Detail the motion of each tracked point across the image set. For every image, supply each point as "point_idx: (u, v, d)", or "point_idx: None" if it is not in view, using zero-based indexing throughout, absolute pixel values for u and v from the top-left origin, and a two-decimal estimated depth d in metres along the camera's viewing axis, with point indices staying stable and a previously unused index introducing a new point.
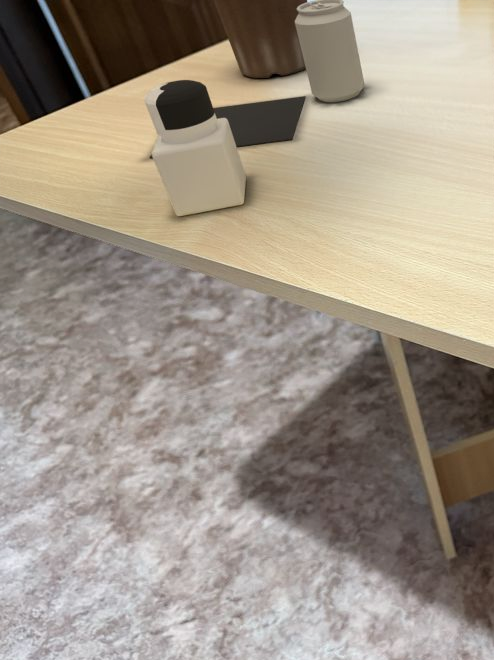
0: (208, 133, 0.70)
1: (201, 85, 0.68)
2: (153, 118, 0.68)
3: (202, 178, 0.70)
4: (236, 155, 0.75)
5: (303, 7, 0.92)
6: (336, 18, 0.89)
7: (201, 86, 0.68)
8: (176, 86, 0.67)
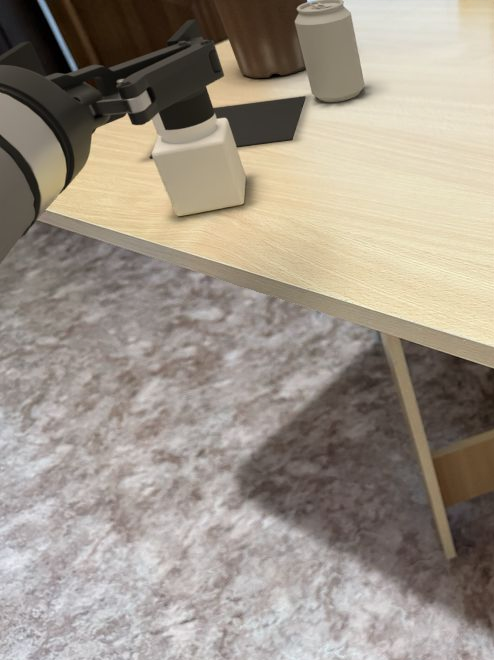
0: (208, 133, 0.70)
1: None
2: (153, 118, 0.68)
3: (202, 178, 0.70)
4: (236, 155, 0.75)
5: (303, 7, 0.92)
6: (337, 18, 0.89)
7: None
8: None
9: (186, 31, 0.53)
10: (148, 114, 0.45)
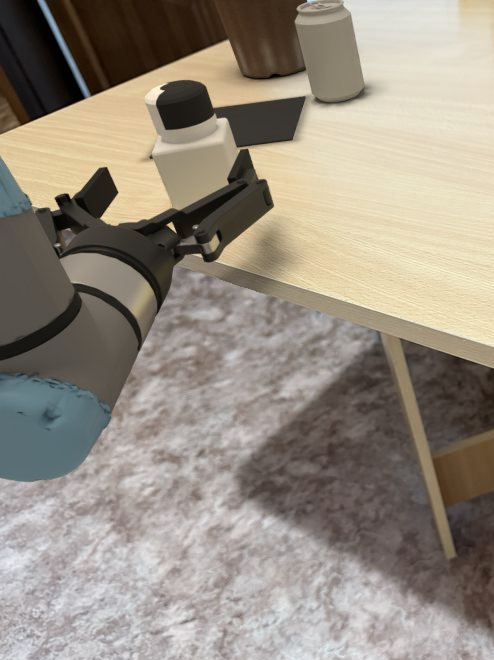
0: (208, 133, 0.70)
1: (201, 85, 0.68)
2: (153, 118, 0.68)
3: (202, 178, 0.70)
4: (236, 155, 0.75)
5: (303, 7, 0.92)
6: (337, 18, 0.89)
7: (201, 86, 0.68)
8: (176, 86, 0.67)
9: (241, 164, 0.63)
10: (217, 253, 0.55)
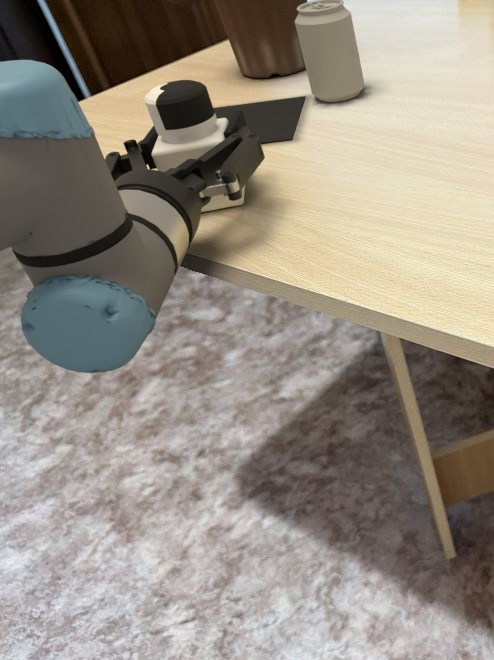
0: (208, 133, 0.70)
1: (201, 85, 0.68)
2: (153, 118, 0.68)
3: None
4: None
5: (303, 7, 0.92)
6: (337, 18, 0.89)
7: (201, 86, 0.68)
8: (176, 86, 0.67)
9: (236, 122, 0.72)
10: (240, 192, 0.63)
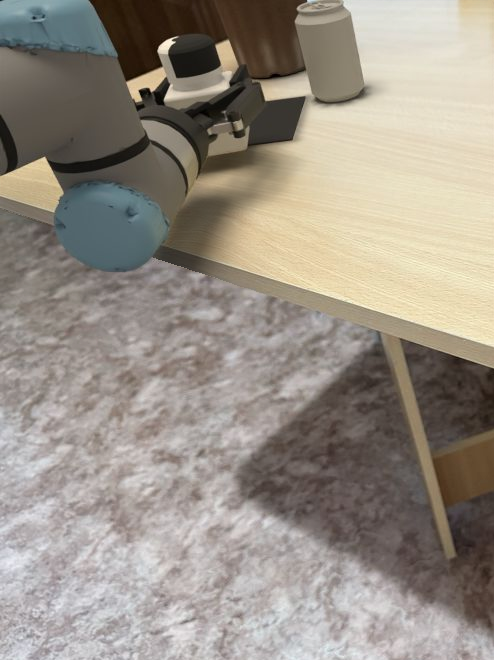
0: (215, 82, 0.77)
1: (209, 38, 0.75)
2: (165, 67, 0.75)
3: None
4: None
5: (303, 7, 0.92)
6: (337, 18, 0.89)
7: (209, 39, 0.75)
8: (186, 39, 0.74)
9: (240, 74, 0.79)
10: (244, 130, 0.70)
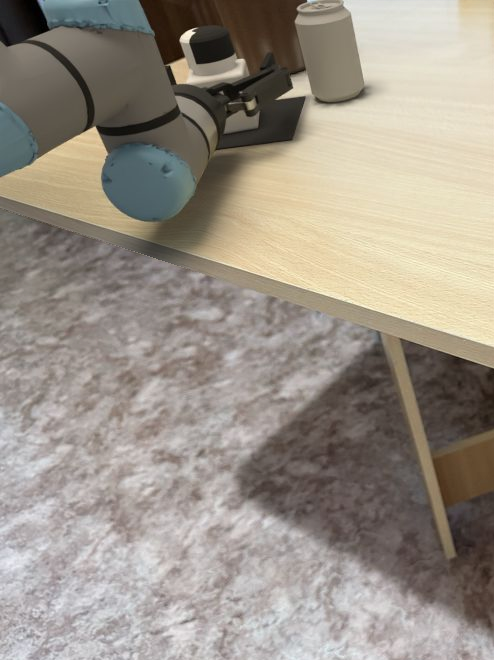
0: (230, 68, 0.87)
1: (225, 29, 0.85)
2: (186, 55, 0.85)
3: None
4: None
5: (303, 7, 0.92)
6: (337, 18, 0.89)
7: (224, 29, 0.85)
8: (205, 29, 0.85)
9: (269, 60, 0.87)
10: (255, 110, 0.79)
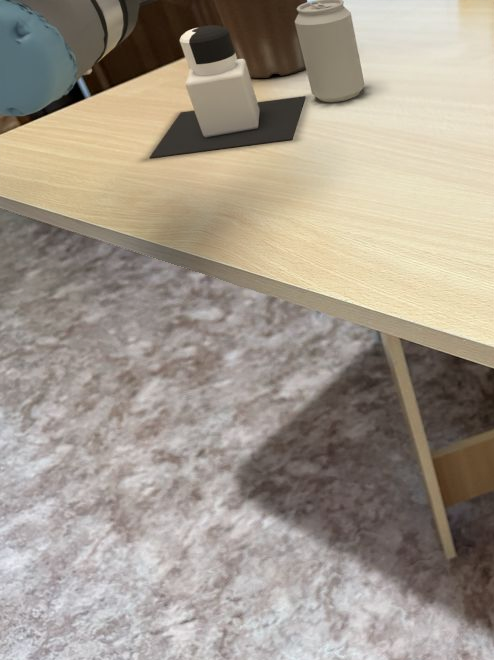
0: (230, 68, 0.87)
1: (225, 29, 0.85)
2: (186, 55, 0.85)
3: (224, 105, 0.87)
4: (252, 89, 0.92)
5: (303, 7, 0.92)
6: (337, 18, 0.89)
7: (224, 29, 0.85)
8: (205, 29, 0.85)
9: None
10: None
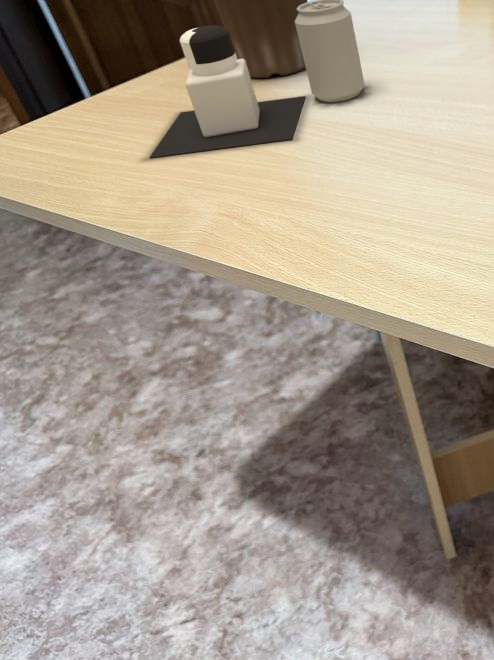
0: (230, 68, 0.87)
1: (225, 29, 0.85)
2: (186, 55, 0.85)
3: (224, 105, 0.87)
4: (252, 89, 0.92)
5: (303, 7, 0.92)
6: (337, 18, 0.89)
7: (224, 29, 0.85)
8: (205, 29, 0.85)
9: None
10: None
